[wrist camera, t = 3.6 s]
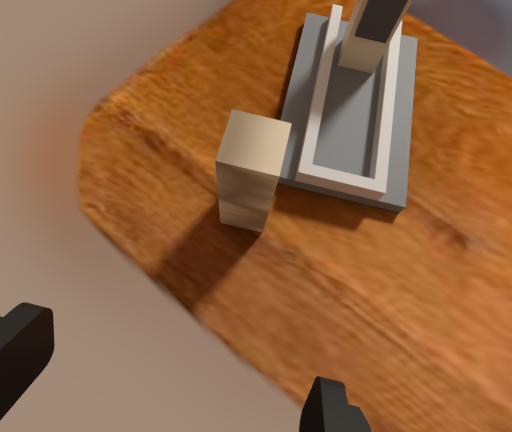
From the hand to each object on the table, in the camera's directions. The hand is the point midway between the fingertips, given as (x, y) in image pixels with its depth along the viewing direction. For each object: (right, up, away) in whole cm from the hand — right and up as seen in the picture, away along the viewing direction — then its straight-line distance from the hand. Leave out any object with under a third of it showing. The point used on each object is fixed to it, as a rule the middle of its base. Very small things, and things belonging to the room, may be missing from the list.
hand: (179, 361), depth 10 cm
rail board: (+11, +15, +23) cm, 30 cm away
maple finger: (+2, +5, +18) cm, 19 cm away
